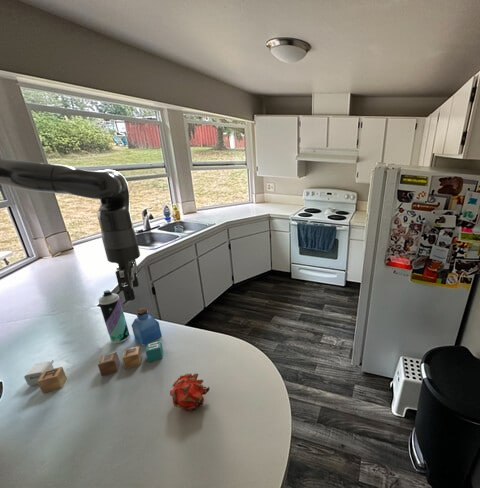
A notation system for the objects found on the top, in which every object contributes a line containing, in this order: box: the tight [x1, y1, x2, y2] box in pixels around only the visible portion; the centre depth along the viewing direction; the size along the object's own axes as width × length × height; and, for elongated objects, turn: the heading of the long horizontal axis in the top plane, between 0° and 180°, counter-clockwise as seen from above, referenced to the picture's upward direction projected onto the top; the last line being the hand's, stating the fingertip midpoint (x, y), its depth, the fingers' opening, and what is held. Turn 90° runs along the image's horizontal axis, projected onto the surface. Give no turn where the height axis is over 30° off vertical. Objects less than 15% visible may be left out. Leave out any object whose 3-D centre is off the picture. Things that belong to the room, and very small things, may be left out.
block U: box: [97, 351, 121, 377], centre depth 79 cm, size 4×4×5 cm
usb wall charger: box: [23, 359, 55, 386], centre depth 76 cm, size 4×7×4 cm, turn 22°
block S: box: [145, 339, 164, 363], centre depth 85 cm, size 4×4×5 cm
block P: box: [122, 345, 143, 370], centre depth 82 cm, size 4×4×5 cm
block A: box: [37, 366, 68, 394], centre depth 73 cm, size 4×4×5 cm
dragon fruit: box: [169, 372, 210, 412], centre depth 69 cm, size 8×8×12 cm
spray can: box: [98, 290, 131, 344], centre depth 90 cm, size 6×6×20 cm
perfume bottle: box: [131, 307, 162, 346], centre depth 92 cm, size 6×6×12 cm
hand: (132, 293), depth 76 cm, fingers open, 8 cm apart
